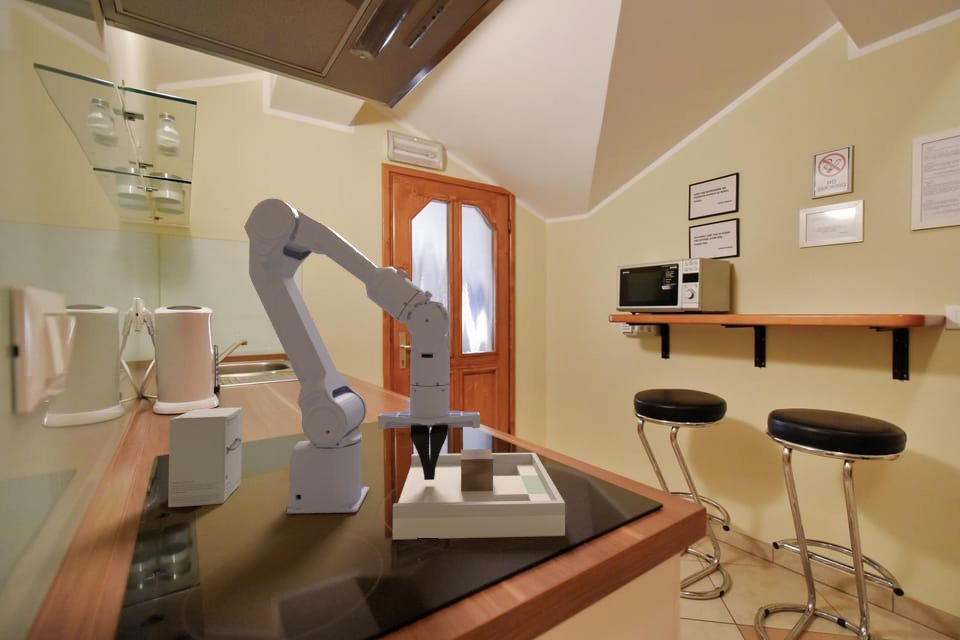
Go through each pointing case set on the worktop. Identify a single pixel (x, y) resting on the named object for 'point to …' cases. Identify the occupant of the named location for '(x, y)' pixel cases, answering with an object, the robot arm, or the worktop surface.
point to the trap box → (480, 501)
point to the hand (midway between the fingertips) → (429, 477)
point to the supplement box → (204, 456)
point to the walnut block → (476, 470)
